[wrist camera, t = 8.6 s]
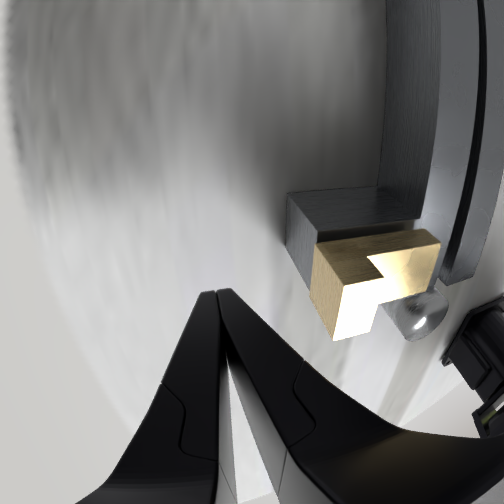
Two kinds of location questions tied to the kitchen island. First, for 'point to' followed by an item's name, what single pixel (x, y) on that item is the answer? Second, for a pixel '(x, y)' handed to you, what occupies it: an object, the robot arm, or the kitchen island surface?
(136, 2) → the kitchen island surface
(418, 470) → the robot arm
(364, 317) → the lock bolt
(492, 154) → the tong arm
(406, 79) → the tong base
